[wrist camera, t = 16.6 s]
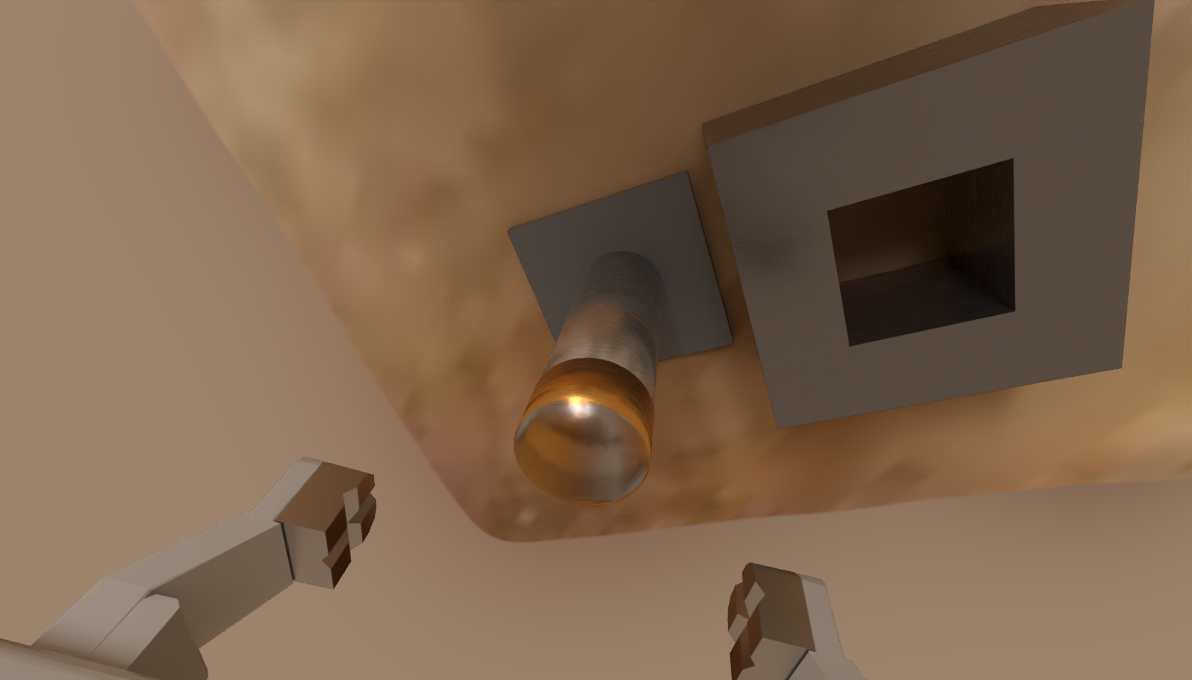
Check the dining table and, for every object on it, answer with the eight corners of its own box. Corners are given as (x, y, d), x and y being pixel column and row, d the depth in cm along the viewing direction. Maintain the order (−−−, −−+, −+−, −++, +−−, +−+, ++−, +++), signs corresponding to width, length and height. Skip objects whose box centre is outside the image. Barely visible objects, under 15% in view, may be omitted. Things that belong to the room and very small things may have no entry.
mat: (509, 228, 24) (507, 231, 23) (686, 170, 21) (686, 172, 21) (573, 376, 27) (572, 380, 27) (733, 339, 25) (733, 343, 24)
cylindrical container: (576, 316, 25) (508, 487, 15) (589, 241, 23) (521, 383, 14) (654, 334, 25) (633, 518, 15) (674, 260, 23) (664, 417, 13)
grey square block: (702, 123, 20) (706, 146, 16) (1038, 5, 17) (1154, -5, 13) (761, 361, 25) (777, 429, 21) (1036, 303, 22) (1122, 368, 18)
